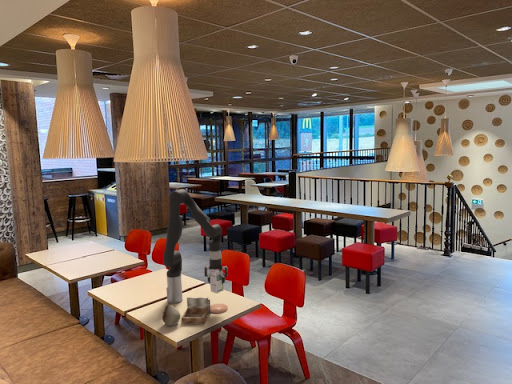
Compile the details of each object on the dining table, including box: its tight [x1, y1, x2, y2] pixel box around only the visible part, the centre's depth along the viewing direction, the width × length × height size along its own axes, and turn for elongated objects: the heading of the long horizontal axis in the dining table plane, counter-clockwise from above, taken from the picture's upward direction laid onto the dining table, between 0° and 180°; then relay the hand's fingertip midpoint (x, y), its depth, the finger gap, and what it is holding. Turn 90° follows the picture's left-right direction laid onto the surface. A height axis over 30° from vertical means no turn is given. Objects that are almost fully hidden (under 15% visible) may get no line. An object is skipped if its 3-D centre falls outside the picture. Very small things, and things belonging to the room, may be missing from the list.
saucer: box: [210, 303, 229, 314], centre depth 237 cm, size 12×12×1 cm
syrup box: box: [208, 269, 224, 294], centre depth 234 cm, size 6×6×14 cm
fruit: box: [161, 302, 181, 327], centre depth 218 cm, size 10×9×12 cm
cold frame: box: [180, 296, 212, 325], centre depth 225 cm, size 14×14×10 cm
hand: (216, 282), depth 235 cm, fingers closed on syrup box, 8 cm apart
